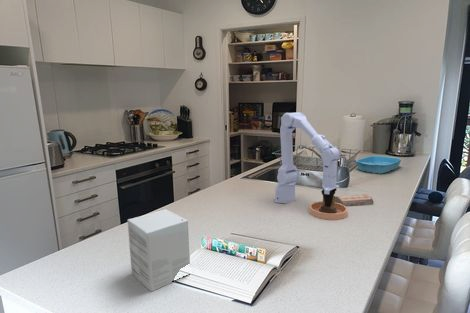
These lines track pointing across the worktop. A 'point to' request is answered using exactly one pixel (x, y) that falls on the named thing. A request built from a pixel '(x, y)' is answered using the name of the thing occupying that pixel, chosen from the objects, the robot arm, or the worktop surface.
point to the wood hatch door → (330, 206)
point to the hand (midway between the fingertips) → (328, 205)
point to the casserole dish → (378, 164)
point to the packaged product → (354, 200)
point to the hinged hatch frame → (327, 210)
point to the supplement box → (158, 247)
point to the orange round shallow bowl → (340, 214)
